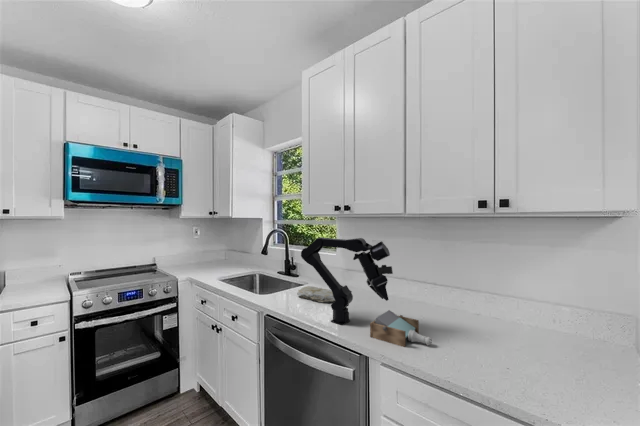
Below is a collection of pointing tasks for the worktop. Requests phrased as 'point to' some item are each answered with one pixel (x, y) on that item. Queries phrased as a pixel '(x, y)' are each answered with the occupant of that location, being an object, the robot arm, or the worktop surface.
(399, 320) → the trapdoor flap
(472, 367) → the worktop surface
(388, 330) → the walnut stand
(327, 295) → the fossil stone
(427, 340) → the rook chess piece
